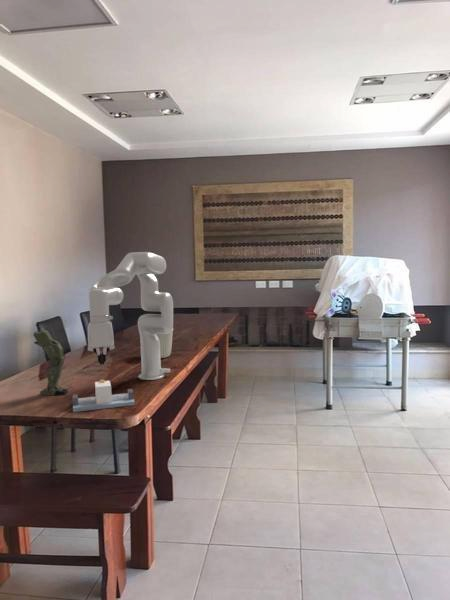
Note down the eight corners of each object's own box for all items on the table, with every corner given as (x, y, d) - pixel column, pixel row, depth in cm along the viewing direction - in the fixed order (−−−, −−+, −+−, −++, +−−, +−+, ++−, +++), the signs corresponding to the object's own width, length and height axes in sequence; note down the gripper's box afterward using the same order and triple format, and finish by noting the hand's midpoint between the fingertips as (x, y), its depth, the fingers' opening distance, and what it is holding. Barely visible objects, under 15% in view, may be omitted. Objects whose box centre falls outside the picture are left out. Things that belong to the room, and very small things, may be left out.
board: (131, 396, 206) (131, 393, 205) (134, 405, 194) (134, 401, 194) (73, 403, 199) (73, 399, 198) (73, 411, 187) (72, 408, 187)
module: (110, 396, 201) (109, 378, 200) (111, 402, 193) (111, 383, 192) (95, 398, 199) (94, 380, 199) (96, 404, 191) (95, 385, 191)
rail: (132, 395, 202) (132, 388, 202) (133, 399, 197) (133, 391, 197) (73, 401, 195) (72, 394, 195) (72, 405, 190) (72, 398, 190)
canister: (177, 353, 293) (176, 319, 291) (171, 360, 275) (170, 324, 273) (148, 353, 295) (147, 319, 293) (140, 360, 277) (139, 324, 275)
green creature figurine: (76, 388, 217) (57, 325, 214) (72, 393, 210) (52, 328, 207) (47, 396, 217) (27, 333, 214) (41, 401, 210) (21, 336, 207)
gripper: (117, 317, 199) (119, 360, 201) (80, 319, 194) (82, 363, 196) (119, 319, 192) (121, 364, 194) (80, 321, 187) (83, 367, 189)
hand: (102, 363), depth 195 cm, fingers closed
